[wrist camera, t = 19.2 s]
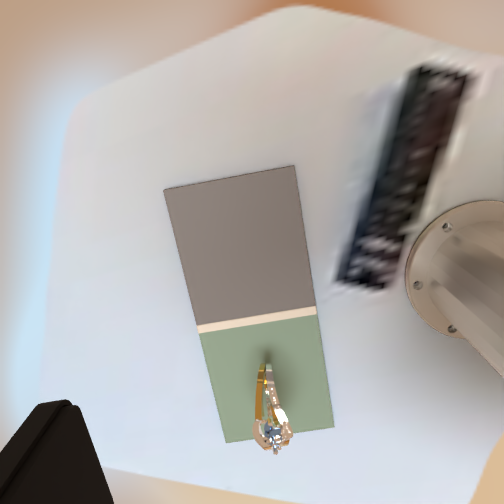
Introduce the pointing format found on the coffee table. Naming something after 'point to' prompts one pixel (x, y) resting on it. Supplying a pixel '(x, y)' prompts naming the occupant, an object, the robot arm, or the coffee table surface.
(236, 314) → the board
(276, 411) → the ring
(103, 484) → the robot arm
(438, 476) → the coffee table surface
